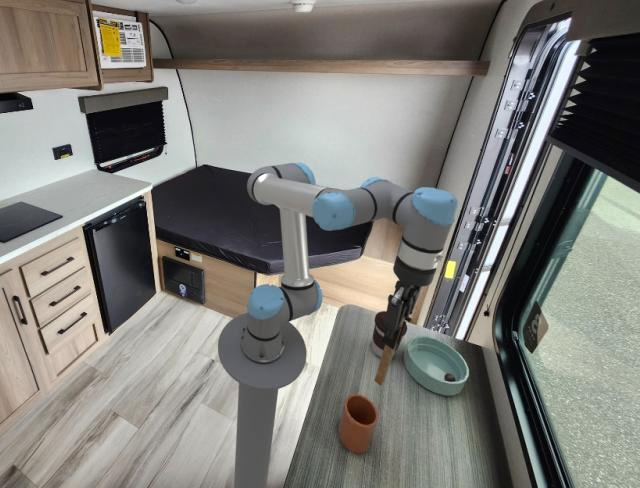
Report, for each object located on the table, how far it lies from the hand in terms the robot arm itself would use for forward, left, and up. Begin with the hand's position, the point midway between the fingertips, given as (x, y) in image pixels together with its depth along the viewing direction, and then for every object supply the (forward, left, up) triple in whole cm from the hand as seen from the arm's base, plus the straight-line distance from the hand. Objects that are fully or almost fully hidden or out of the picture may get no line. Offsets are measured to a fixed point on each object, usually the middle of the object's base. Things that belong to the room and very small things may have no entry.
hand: (390, 342), depth 74 cm
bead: (+9, +33, -30) cm, 46 cm away
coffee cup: (-10, +27, -33) cm, 43 cm away
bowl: (+4, +33, -32) cm, 47 cm away
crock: (-1, -5, -32) cm, 33 cm away
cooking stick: (0, 0, -14) cm, 14 cm away
